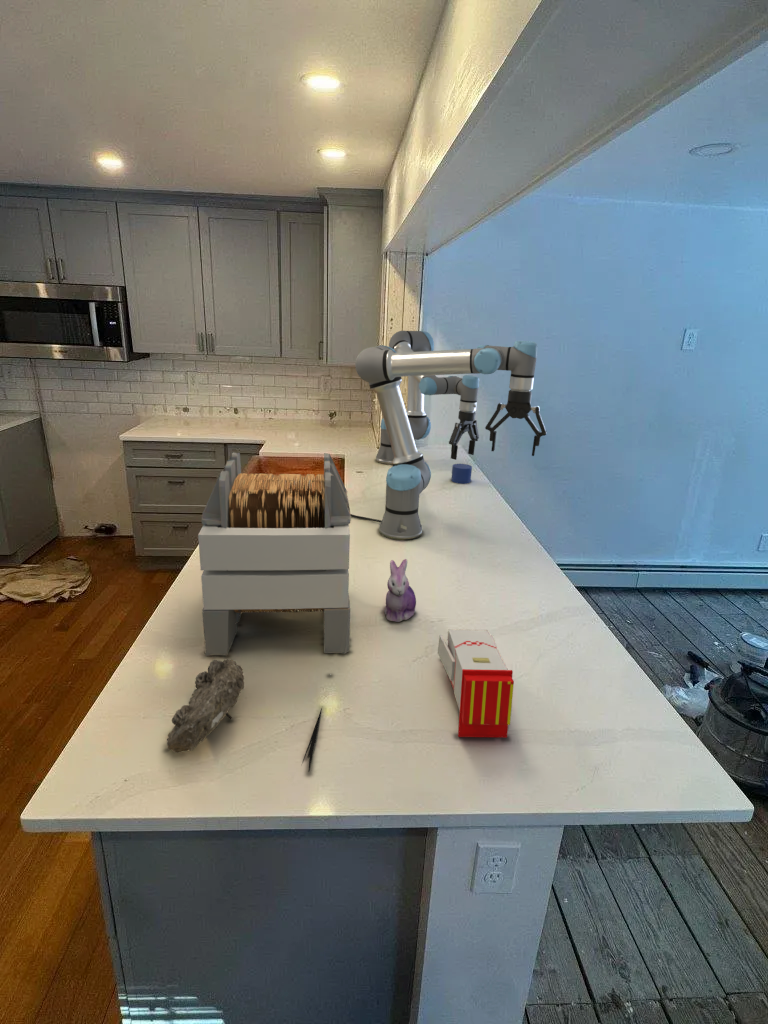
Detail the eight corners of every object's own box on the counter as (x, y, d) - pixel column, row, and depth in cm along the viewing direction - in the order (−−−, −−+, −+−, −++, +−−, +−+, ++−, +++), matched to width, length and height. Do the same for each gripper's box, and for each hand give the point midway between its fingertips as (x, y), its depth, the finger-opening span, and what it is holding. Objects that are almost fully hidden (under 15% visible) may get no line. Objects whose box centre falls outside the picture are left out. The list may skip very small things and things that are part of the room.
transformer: (226, 586, 157) (217, 442, 143) (344, 585, 161) (346, 445, 147) (202, 658, 125) (189, 482, 112) (350, 654, 129) (354, 483, 115)
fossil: (192, 660, 117) (244, 628, 112) (224, 691, 120) (276, 661, 115) (142, 746, 98) (202, 712, 93) (182, 779, 101) (242, 748, 96)
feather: (331, 679, 122) (336, 673, 122) (307, 777, 96) (313, 769, 95) (324, 675, 122) (329, 669, 121) (298, 772, 95) (304, 764, 95)
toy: (488, 613, 130) (523, 677, 101) (484, 667, 133) (517, 744, 104) (435, 612, 130) (455, 676, 101) (432, 666, 133) (451, 743, 103)
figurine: (392, 627, 141) (395, 572, 136) (374, 608, 149) (376, 556, 144) (425, 619, 145) (429, 566, 140) (405, 601, 154) (408, 550, 149)
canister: (467, 484, 260) (469, 469, 258) (448, 481, 263) (450, 466, 261) (472, 479, 268) (474, 465, 266) (454, 477, 271) (455, 462, 269)
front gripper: (560, 391, 187) (550, 454, 194) (484, 385, 194) (478, 446, 201) (559, 394, 180) (549, 459, 187) (481, 388, 187) (474, 450, 194)
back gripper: (457, 415, 243) (452, 463, 251) (489, 409, 261) (484, 454, 268) (443, 412, 248) (439, 459, 256) (476, 406, 265) (471, 450, 273)
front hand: (512, 452), depth 194 cm, fingers open, 13 cm apart
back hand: (462, 456), depth 262 cm, fingers open, 13 cm apart
